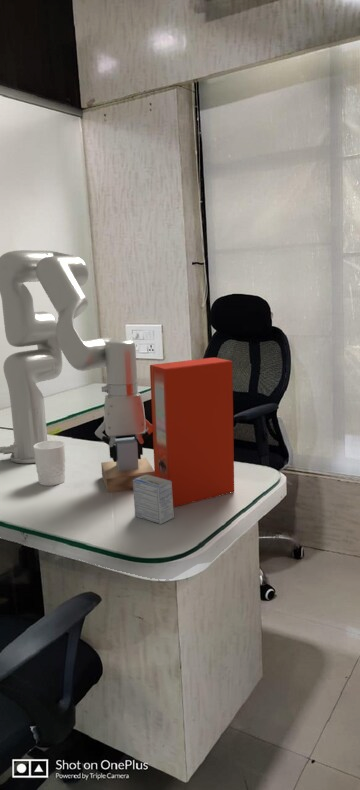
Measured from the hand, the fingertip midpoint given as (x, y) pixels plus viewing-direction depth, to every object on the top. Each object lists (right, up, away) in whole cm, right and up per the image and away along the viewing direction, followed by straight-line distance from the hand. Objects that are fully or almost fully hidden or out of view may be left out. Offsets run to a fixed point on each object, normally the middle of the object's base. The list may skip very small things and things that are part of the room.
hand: (126, 458), depth 156 cm
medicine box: (+8, -11, -22) cm, 26 cm away
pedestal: (0, -6, +1) cm, 6 cm away
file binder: (+17, -8, -10) cm, 22 cm away
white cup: (-20, -7, +4) cm, 21 cm away
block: (0, -2, 0) cm, 2 cm away
